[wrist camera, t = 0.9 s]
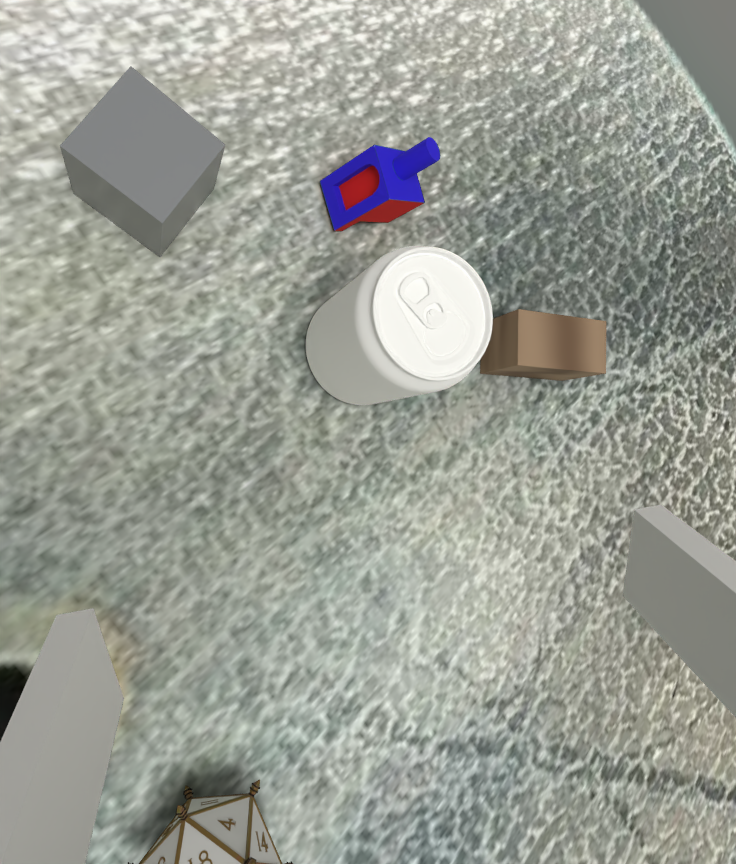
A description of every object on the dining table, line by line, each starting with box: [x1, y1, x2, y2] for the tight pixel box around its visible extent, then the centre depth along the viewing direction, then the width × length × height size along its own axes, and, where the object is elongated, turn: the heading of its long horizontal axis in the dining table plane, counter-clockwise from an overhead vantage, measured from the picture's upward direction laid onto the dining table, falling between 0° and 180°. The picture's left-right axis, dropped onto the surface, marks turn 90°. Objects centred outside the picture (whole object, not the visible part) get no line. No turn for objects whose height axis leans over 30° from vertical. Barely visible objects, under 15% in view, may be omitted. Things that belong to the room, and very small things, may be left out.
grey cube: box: [60, 67, 225, 257], centre depth 34 cm, size 6×6×6 cm
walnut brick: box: [480, 309, 606, 381], centre depth 44 cm, size 8×4×5 cm, turn 89°
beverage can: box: [306, 246, 493, 405], centre depth 36 cm, size 8×8×12 cm
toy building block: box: [320, 137, 440, 231], centre depth 39 cm, size 4×4×8 cm
